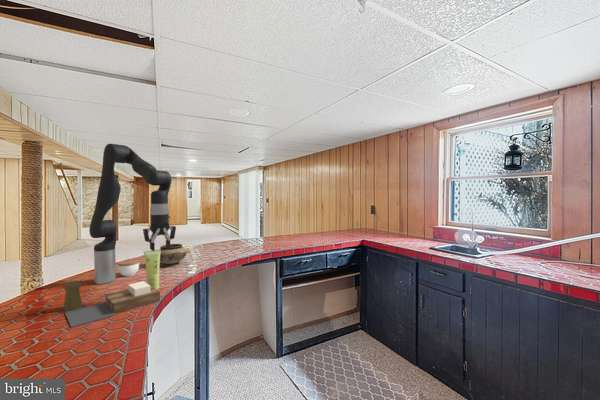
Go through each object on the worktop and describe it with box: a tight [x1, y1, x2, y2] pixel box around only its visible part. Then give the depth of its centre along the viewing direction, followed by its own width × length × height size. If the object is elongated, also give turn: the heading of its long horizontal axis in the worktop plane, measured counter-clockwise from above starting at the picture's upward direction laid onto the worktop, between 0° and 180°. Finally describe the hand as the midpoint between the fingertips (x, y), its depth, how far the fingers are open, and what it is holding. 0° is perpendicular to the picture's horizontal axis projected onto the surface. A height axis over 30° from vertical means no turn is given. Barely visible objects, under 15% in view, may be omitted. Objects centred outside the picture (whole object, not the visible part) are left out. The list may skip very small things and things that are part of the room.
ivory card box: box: [127, 280, 150, 296], centre depth 116 cm, size 9×6×3 cm, turn 48°
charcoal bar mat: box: [64, 301, 116, 329], centre depth 103 cm, size 17×13×1 cm
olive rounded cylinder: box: [62, 280, 83, 312], centre depth 109 cm, size 6×6×11 cm
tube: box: [143, 249, 161, 290], centre depth 130 cm, size 6×5×20 cm
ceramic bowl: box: [155, 243, 192, 267], centre depth 175 cm, size 24×18×15 cm
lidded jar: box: [116, 258, 140, 277], centre depth 153 cm, size 11×11×9 cm
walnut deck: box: [104, 286, 161, 315], centre depth 114 cm, size 14×17×4 cm
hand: (160, 249), depth 122 cm, fingers open, 5 cm apart
